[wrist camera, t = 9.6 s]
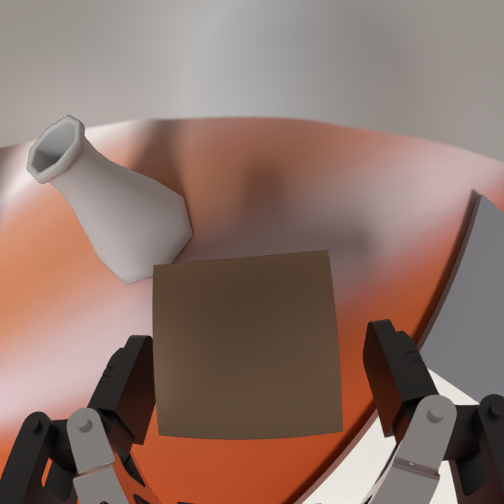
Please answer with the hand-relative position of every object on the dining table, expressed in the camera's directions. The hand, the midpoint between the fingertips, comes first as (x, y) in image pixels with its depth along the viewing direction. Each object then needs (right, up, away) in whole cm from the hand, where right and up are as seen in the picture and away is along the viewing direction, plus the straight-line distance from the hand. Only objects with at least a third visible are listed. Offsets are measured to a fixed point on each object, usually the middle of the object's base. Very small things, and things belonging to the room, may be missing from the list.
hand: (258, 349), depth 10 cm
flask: (-8, +5, +9) cm, 13 cm away
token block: (+1, -2, +6) cm, 6 cm away
